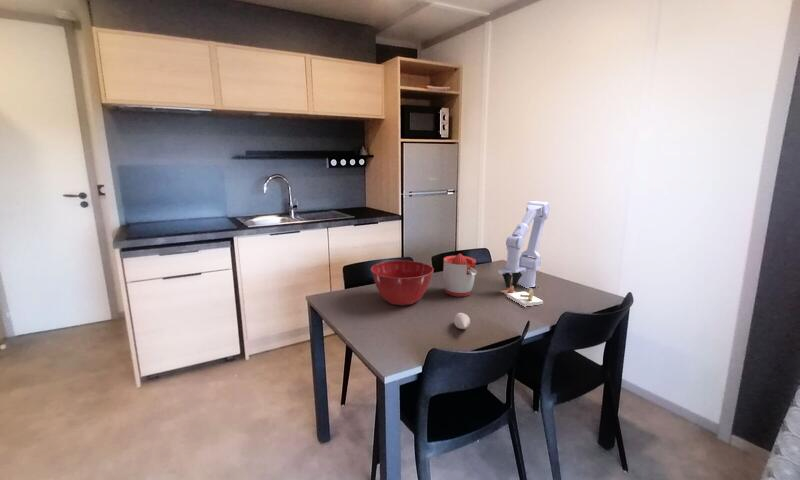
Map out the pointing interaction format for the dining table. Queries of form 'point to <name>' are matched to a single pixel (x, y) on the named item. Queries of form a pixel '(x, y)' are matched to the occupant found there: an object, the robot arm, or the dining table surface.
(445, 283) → the citrus juicer
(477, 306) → the dining table surface
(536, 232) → the robot arm
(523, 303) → the latch box
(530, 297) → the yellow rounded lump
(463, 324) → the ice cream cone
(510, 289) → the cover
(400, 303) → the mixing bowl
